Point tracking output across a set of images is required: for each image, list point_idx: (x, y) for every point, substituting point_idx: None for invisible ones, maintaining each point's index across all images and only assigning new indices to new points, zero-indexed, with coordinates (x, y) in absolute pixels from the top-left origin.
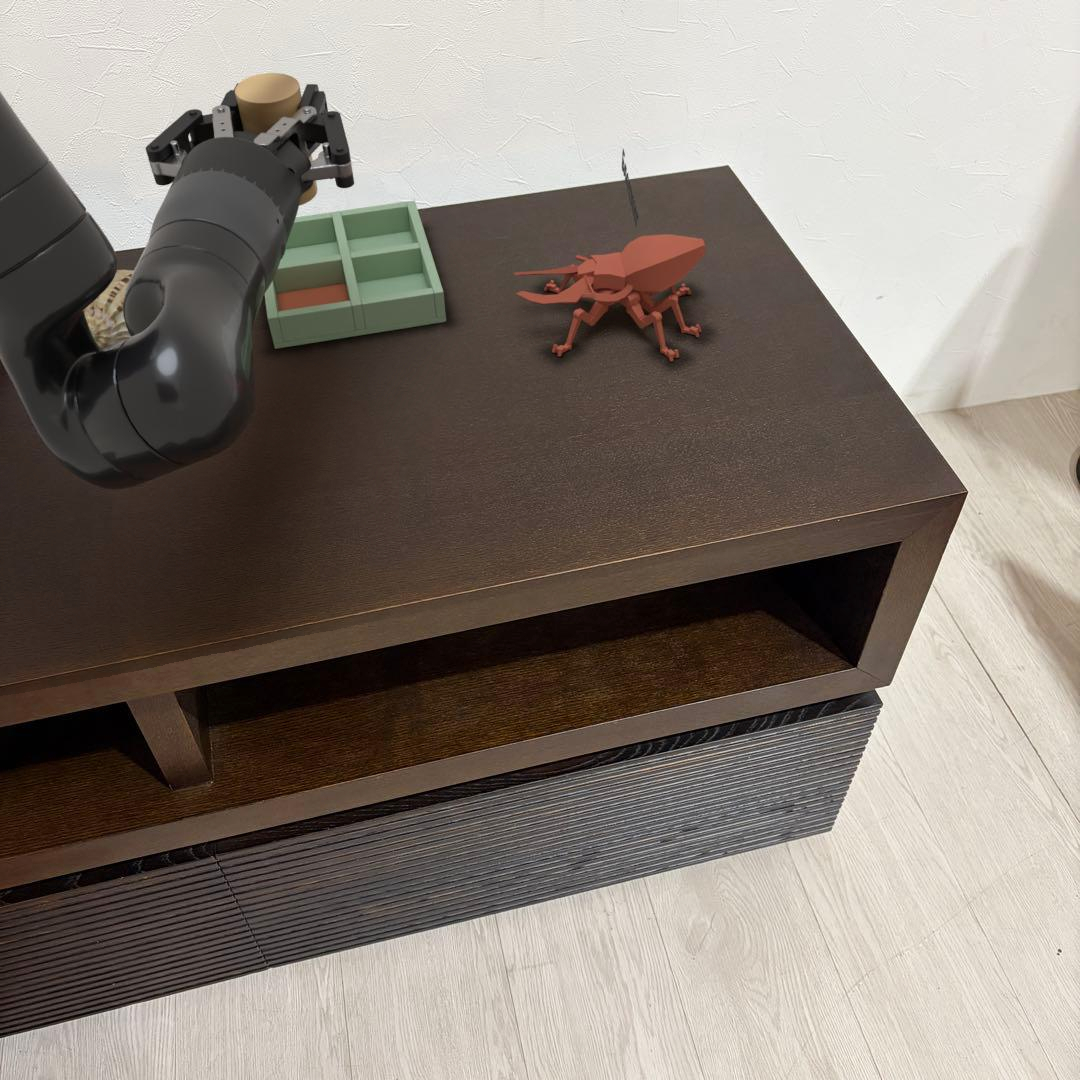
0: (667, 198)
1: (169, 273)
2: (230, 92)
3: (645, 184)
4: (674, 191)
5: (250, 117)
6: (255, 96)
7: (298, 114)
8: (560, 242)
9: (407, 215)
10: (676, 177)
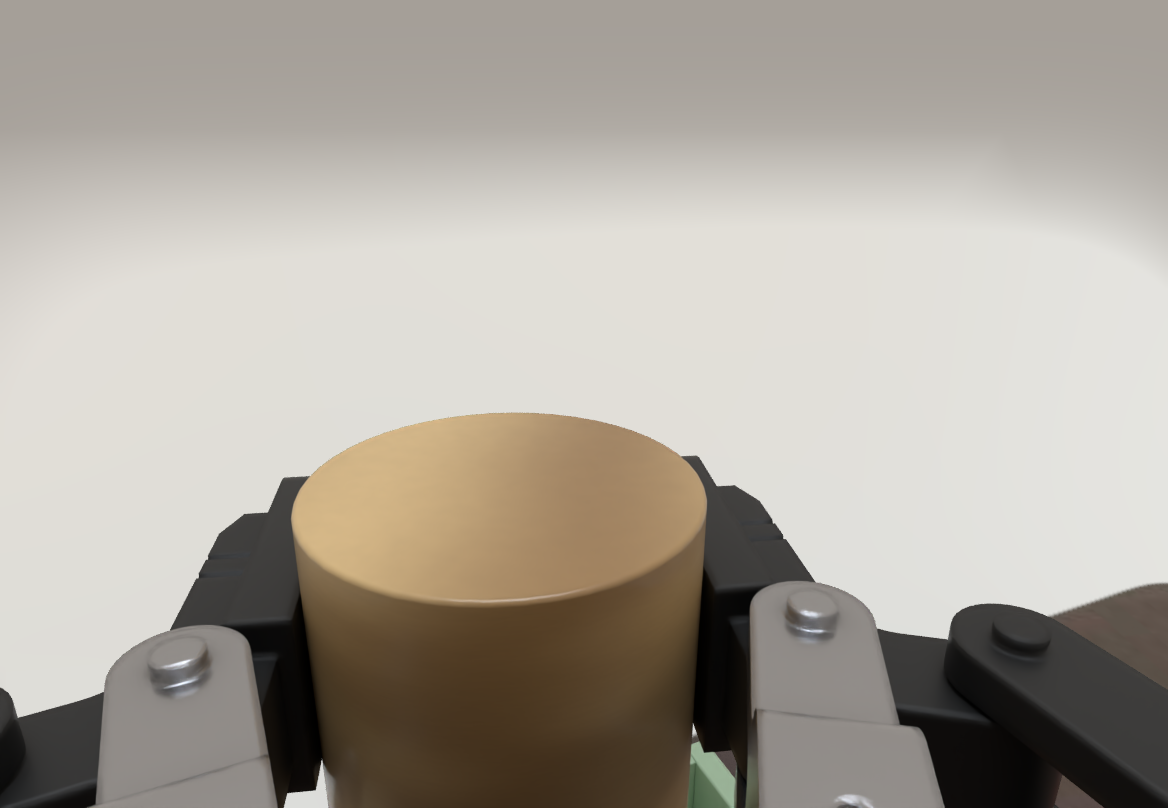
0: (1161, 649)
1: None
2: (244, 526)
3: (1084, 620)
4: (1155, 631)
5: (410, 703)
6: (454, 552)
7: (786, 655)
8: (1070, 804)
9: (693, 784)
10: (1122, 599)
